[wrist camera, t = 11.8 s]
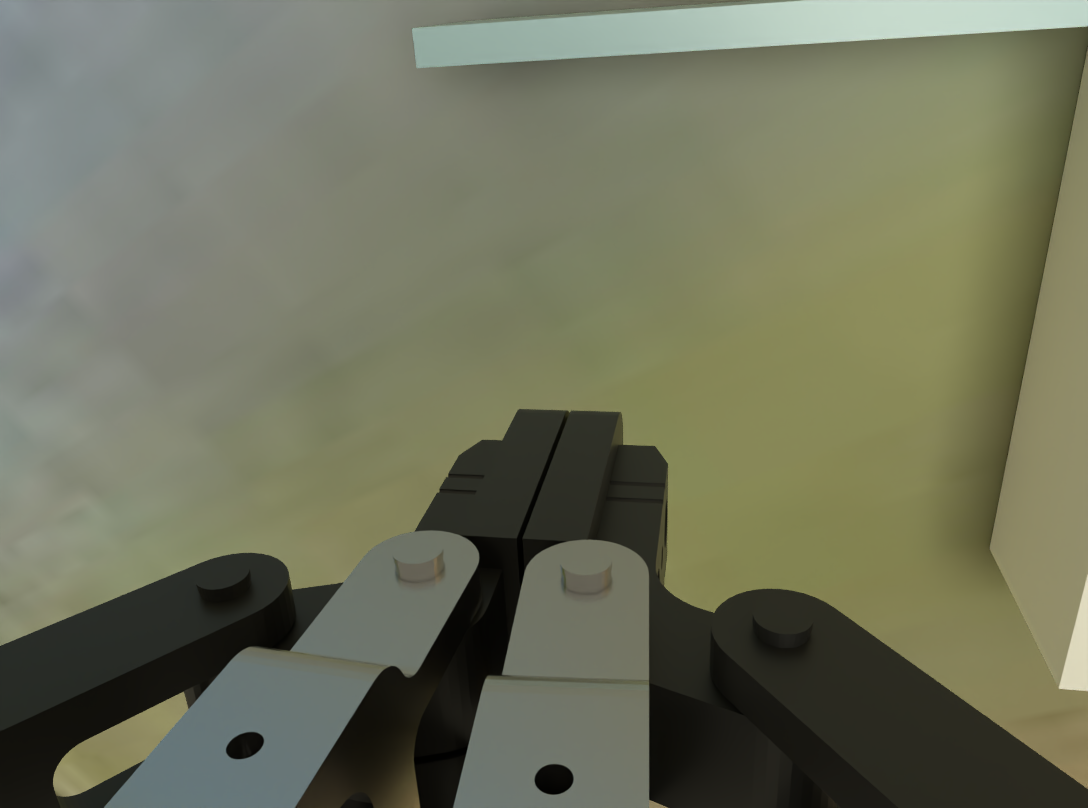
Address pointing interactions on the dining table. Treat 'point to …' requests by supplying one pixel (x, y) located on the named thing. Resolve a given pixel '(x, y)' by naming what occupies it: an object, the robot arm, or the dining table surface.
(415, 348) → the dining table surface
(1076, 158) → the camera housing
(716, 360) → the dining table surface
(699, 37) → the door
